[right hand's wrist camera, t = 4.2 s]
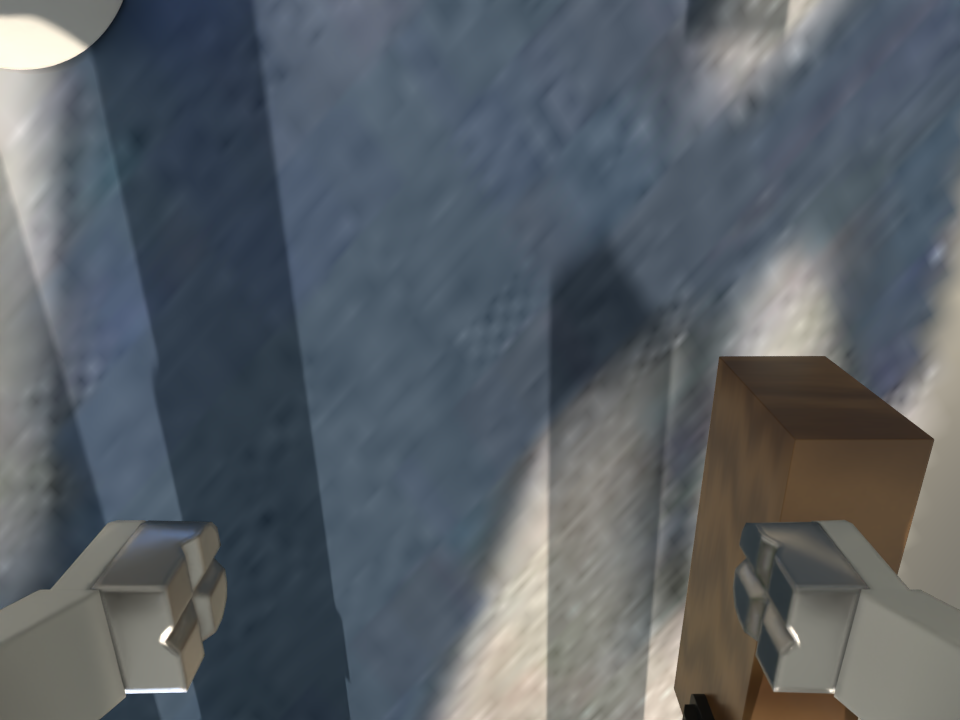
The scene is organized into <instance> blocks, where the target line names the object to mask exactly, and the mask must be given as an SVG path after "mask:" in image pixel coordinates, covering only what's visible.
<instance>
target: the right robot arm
mask: <svg viewBox="0 0 960 720" xmlns="http://www.w3.org/2000/svg"><path fill="white" fill-rule="evenodd" d="M122 2H123V0H0V68H5V69H16V70H28V69H39V68H45V67H49V66H53V65H56V64H60V63H62V62H65V61H67V60H69V59H71V58H73V57H75V56H77V55H78V54H80V53H81V52H83V51H85V50H86V49H87V48H88V47H90V46H91V45H92V44H93V43H94V42H95V41H97V40H98V39H99V38H100V36H101V35H102V34H103V33H104V32H105V31H106V29H107V28H108V27H109V25H110V24H111V22H112V21H113V19H114V18H115V16H116V14H117V12H118V10H119V8H120V6H121V4H122ZM220 546H221V543H220V539H219V534H218V529H217V526H215V525H214V524H213V523H212V522H197V521H150V520H149V521H144V520H116V521H113V522H110V523H108V524H107V525H106V526H105V527H104V528H103V529H102V530H101V532H100V533H99V534H98V535H97V536H96V537H95V538H94V540H93V541H92V542H91V543H90V544H89V545H88V547H87V548H86V549H85V550H84V551H83V552H82V554H81V555H80V556H79V557H78V558H77V559H76V560H75V562H74V563H73V564H72V565H71V566H70V567H69V569H68V570H67V571H66V572H65V573H64V574H63V575H62V577H61V578H60V579H59V580H58V581H57V582H56V584H55V585H54V586H53V587H52V588H51V589H50V590H38V591H36V592H34V593H32V594H30V595H28V596H26V597H24V598H22V599H21V600H19V601H17V602H15V603H13V604H11V605H9V606H7V607H5V608H3V609H1V610H0V720H100V719H101V718H102V717H103V716H104V715H105V714H107V713H108V712H109V711H110V710H111V709H112V708H114V707H115V706H116V705H117V704H118V703H120V702H121V701H122V700H123V699H124V698H125V697H126V694H130V693H164V692H187V690H188V688H189V686H190V684H191V682H192V680H193V678H194V676H195V674H196V672H197V670H198V668H199V666H200V664H201V662H202V660H203V658H204V656H205V654H204V648H203V643H202V642H203V641H204V640H205V639H207V638H208V637H210V636H211V635H212V634H214V633H215V632H216V631H217V629H218V626H219V624H220V622H221V620H222V618H223V614H224V609H225V604H226V600H227V579H226V573H225V569H224V568H223V567H222V566H221V565H220V564H219V563H218V562H217V561H216V560H215V559H214V557H215V555H216V553H217V551H218V549H219V547H220ZM739 546H740V547H741V549H742V551H743V553H744V555H745V556H746V559H745V560H744V561H743V562H742V563H741V564H740V565H739V566H738V567H737V568H736V569H735V573H734V581H733V597H734V607H735V610H736V614H737V617H738V620H739V622H740V624H741V627H742V629H743V631H744V632H745V633H746V634H748V635H749V636H750V637H752V638H753V639H755V640H756V641H757V642H758V643H757V648H756V654H755V656H756V658H757V660H758V662H759V664H760V666H761V668H762V670H763V672H764V674H765V676H766V678H767V680H768V682H769V684H770V686H771V688H772V690H773V692H794V693H830V694H834V697H835V698H836V699H837V700H838V701H840V702H841V703H842V704H843V705H844V706H846V707H847V708H848V709H849V710H850V711H851V712H853V713H854V714H855V715H856V716H857V717H858V718H860V719H861V720H960V610H959V609H957V608H955V607H953V606H951V605H949V604H947V603H945V602H943V601H941V600H939V599H937V598H936V597H934V596H932V595H930V594H928V593H926V592H924V591H922V590H910V589H909V588H908V587H907V586H906V585H905V584H904V582H903V581H902V580H901V579H900V578H899V577H898V576H897V574H896V573H895V572H894V571H893V570H892V569H891V567H890V566H889V565H888V564H887V563H886V562H885V560H884V559H883V558H882V557H881V556H880V555H879V554H878V552H877V551H876V550H875V549H874V548H873V547H872V545H871V544H870V543H869V542H868V541H867V540H866V539H865V537H864V536H863V535H862V534H861V533H860V532H859V530H858V529H857V528H856V527H855V526H854V525H853V524H852V523H850V522H848V521H846V520H826V521H811V522H754V523H746V524H745V526H744V528H743V530H742V532H741V538H740V543H739Z"/></svg>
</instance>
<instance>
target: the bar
mask: <svg viewBox="0 0 960 720" xmlns="http://www.w3.org/2000/svg"><path fill="white" fill-rule="evenodd" d="M933 442H934V439H933V438H932V437H931V436H929V435H928V434H927V433H925V432H924V431H923V430H922V429H920V428H919V427H918V426H916V425H915V424H914V423H912V422H911V421H910V420H908V419H907V418H906V417H904V416H903V415H902V414H900V413H899V412H898V411H897V410H895V409H894V408H893V407H891V406H890V405H889V404H887V403H886V402H885V401H883V400H882V399H881V398H879V397H878V396H877V395H875V394H874V393H873V392H871V391H870V390H869V389H868V388H866V387H865V386H864V385H862V384H861V383H860V382H858V381H857V380H856V379H854V378H853V377H852V376H850V375H849V374H848V373H846V372H845V371H844V370H843V369H841V368H840V367H839V366H837V365H836V364H835V363H833V362H832V361H831V360H829V359H828V358H827V357H825V356H730V357H719V363H718V370H717V377H716V385H715V392H714V399H713V407H712V414H711V421H710V429H709V436H708V443H707V451H706V458H705V465H704V473H703V480H702V487H701V495H700V502H699V509H698V516H697V524H696V531H695V538H694V546H693V553H692V560H691V568H690V575H689V582H688V590H687V597H686V604H685V612H684V619H683V626H682V634H681V641H680V648H679V656H678V663H677V670H676V678H675V685H674V690H675V693H676V696H677V699H678V702H679V705H680V708H681V711H682V714H683V712H684V706H685V704H689V703H690V697H691V694H705V696H706V698H707V701H708V703H709V706H710V708H711V711H712V714H713V716H714V719H715V720H858V717H857V716H856V715H855V714H854V713H853V712H851V711H850V710H849V709H848V708H847V707H846V706H844V705H843V704H842V703H841V702H840V701H838V700H837V699H836V698H835V697H834V694H830V693H794V692H773V690H772V688H771V686H770V684H769V682H768V680H767V678H766V676H765V674H764V672H763V670H762V668H761V666H760V664H759V662H758V660H757V658H756V656H755V654H756V648H757V643H758V642H757V641H756V640H755V639H753V638H752V637H750V636H749V635H748V634H746V633H745V632H744V631H743V629H742V627H741V624H740V622H739V620H738V617H737V614H736V610H735V607H734V597H733V581H734V573H735V569H736V568H737V567H738V566H739V565H740V564H741V563H742V562H743V561H744V560H745V559H746V556H745V555H744V553H743V551H742V549H741V547H740V546H739V543H740V538H741V532H742V530H743V528H744V526H745V524H746V523H754V522H811V521H826V520H846V521H848V522H850V523H852V524H853V525H854V526H855V527H856V528H857V529H858V530H859V532H860V533H861V534H862V535H863V536H864V537H865V539H866V540H867V541H868V542H869V543H870V544H871V545H872V547H873V548H874V549H875V550H876V551H877V552H878V554H879V555H880V556H881V557H882V558H883V559H884V560H885V562H886V563H887V564H888V565H889V566H890V567H891V569H892V570H893V571H894V572H895V573H896V574H898V570H899V567H900V563H901V559H902V556H903V552H904V548H905V545H906V541H907V538H908V534H909V530H910V527H911V523H912V519H913V516H914V512H915V508H916V505H917V501H918V497H919V494H920V490H921V486H922V482H923V479H924V475H925V472H926V468H927V464H928V461H929V457H930V453H931V450H932V446H933Z"/></svg>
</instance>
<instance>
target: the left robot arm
mask: <svg viewBox="0 0 960 720" xmlns="http://www.w3.org/2000/svg"><path fill="white" fill-rule="evenodd" d="M682 720H715V719H714V716H713V714H712V711H711V708H710V706H709V703H708V701H707V698H706V696H705V694H691V697H690V703H689V704H685V706H684V712H683V719H682Z"/></svg>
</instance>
